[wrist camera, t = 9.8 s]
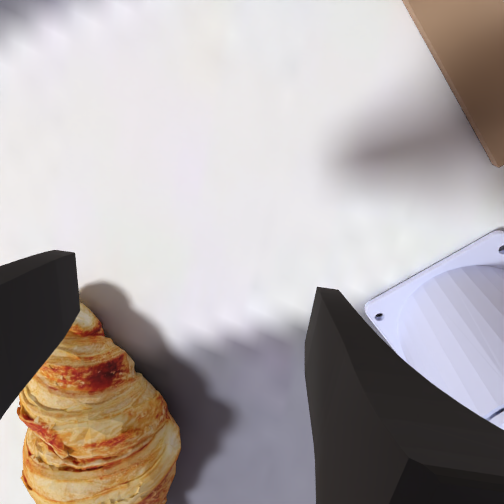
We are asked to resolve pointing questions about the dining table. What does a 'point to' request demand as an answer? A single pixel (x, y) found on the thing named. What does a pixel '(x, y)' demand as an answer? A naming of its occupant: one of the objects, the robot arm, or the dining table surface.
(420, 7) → the board
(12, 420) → the dining table surface
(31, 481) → the croissant
